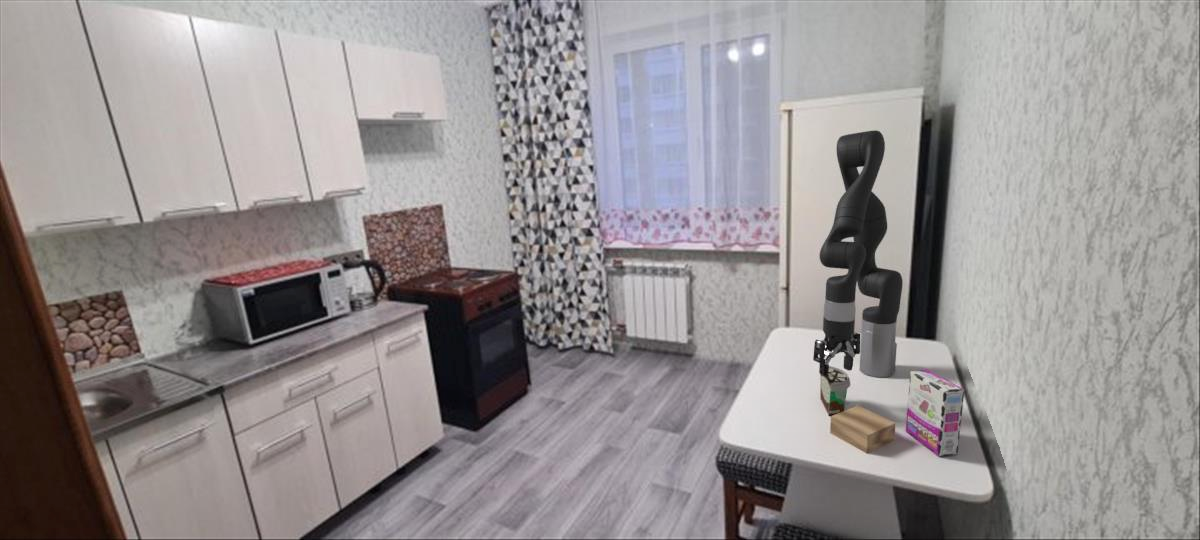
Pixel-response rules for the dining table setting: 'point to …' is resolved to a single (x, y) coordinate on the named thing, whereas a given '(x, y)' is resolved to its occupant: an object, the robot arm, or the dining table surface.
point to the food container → (834, 390)
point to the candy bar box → (934, 412)
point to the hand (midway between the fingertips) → (835, 372)
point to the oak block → (862, 428)
